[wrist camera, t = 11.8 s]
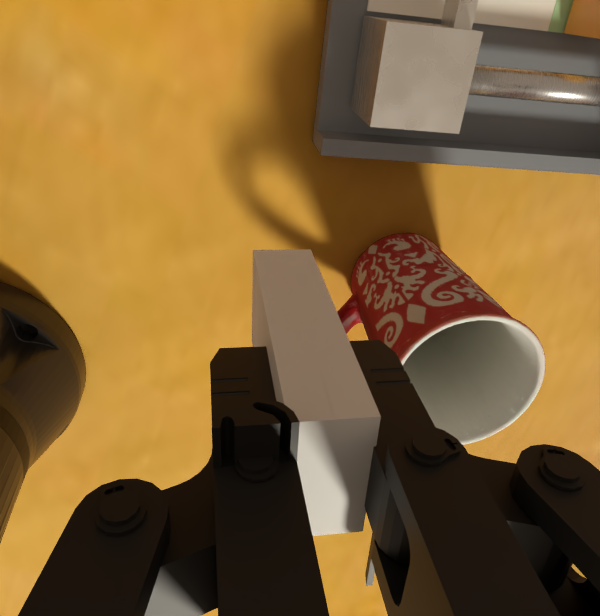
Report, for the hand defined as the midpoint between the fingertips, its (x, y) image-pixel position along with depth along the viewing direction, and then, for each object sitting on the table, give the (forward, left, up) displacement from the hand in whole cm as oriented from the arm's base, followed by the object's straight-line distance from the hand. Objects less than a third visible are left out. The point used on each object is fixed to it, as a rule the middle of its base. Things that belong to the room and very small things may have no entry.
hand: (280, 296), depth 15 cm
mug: (+11, -11, -24) cm, 28 cm away
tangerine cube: (+19, +7, -21) cm, 30 cm away
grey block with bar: (+16, +5, -22) cm, 27 cm away
